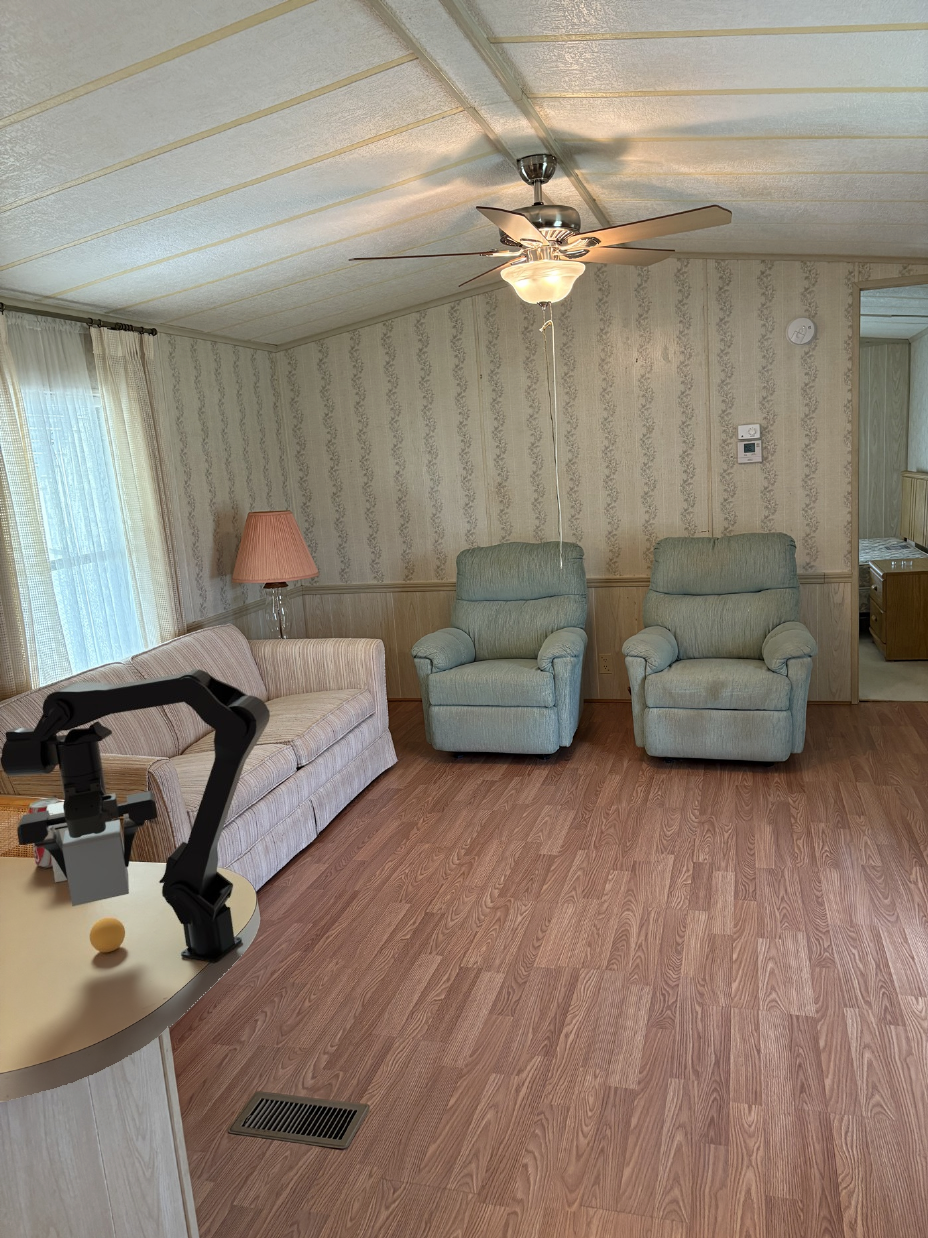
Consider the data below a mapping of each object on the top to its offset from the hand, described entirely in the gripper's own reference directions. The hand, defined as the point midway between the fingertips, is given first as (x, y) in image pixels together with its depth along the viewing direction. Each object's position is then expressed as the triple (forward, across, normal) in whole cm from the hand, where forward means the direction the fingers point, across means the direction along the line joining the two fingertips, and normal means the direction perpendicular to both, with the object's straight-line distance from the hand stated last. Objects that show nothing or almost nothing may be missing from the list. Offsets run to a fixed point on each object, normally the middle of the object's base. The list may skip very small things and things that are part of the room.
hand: (98, 872), depth 140 cm
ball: (+10, 0, +1) cm, 10 cm away
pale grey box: (+3, 0, 0) cm, 3 cm away
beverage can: (+13, -10, +44) cm, 47 cm away
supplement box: (+13, -6, +37) cm, 40 cm away
